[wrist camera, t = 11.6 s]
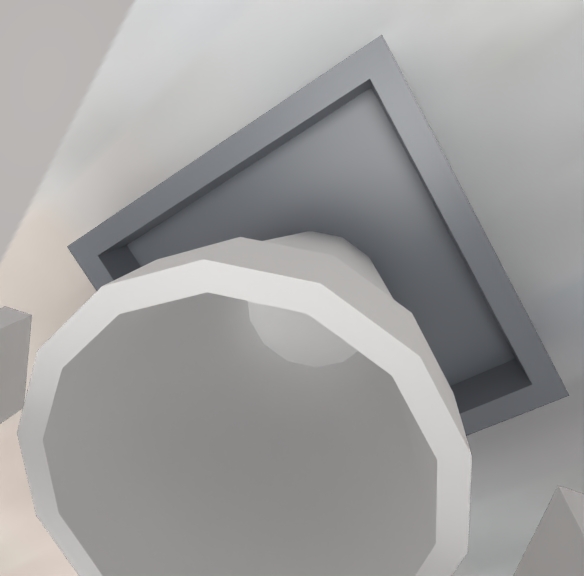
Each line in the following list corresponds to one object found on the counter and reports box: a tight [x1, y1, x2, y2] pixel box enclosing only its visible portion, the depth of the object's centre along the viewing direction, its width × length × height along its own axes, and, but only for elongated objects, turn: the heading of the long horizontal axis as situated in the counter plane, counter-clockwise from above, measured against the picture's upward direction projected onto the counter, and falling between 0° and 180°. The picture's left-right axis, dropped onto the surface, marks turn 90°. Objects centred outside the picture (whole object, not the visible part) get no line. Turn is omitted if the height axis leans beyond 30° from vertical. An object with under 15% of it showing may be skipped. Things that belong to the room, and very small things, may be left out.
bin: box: [67, 35, 569, 436], centre depth 21 cm, size 15×15×4 cm
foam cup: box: [17, 231, 472, 576], centre depth 16 cm, size 10×9×13 cm
